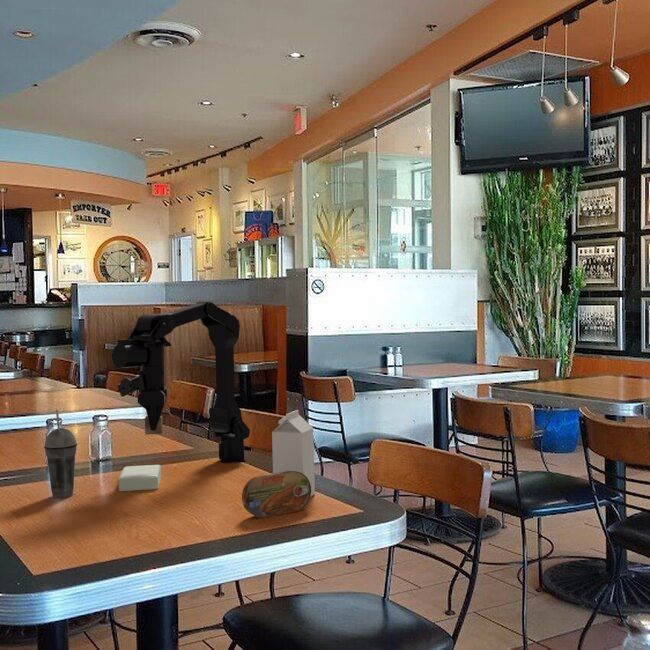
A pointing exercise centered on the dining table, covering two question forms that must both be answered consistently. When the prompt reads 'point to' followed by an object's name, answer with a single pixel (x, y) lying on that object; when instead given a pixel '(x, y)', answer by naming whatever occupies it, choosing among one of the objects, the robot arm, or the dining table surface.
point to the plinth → (140, 478)
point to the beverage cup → (61, 460)
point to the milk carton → (294, 447)
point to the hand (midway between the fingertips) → (153, 429)
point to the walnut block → (158, 429)
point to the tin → (276, 494)
